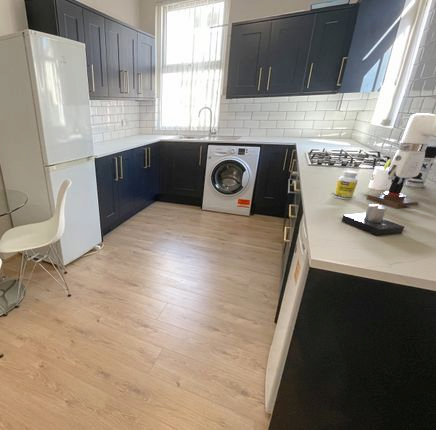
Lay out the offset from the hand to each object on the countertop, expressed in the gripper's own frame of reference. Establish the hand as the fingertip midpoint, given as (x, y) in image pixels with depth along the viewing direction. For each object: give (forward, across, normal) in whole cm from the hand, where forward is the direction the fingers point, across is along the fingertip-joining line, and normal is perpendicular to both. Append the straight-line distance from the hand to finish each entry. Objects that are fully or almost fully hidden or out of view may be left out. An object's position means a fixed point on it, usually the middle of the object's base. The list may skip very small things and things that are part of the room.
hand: (394, 192), depth 115 cm
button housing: (+4, 0, 0) cm, 5 cm away
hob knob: (+2, -33, -18) cm, 38 cm away
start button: (+2, 0, 0) cm, 2 cm away
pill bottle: (+5, -13, +10) cm, 17 cm away
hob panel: (+4, -33, -18) cm, 38 cm away
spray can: (+5, +35, +16) cm, 39 cm away
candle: (+5, +13, +16) cm, 21 cm away
